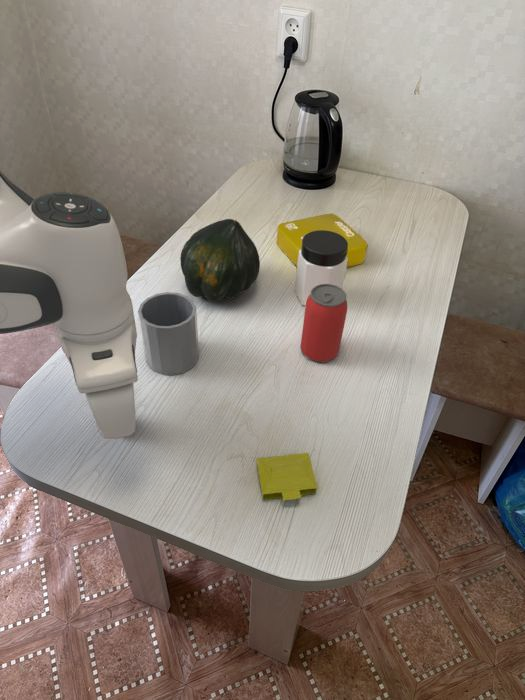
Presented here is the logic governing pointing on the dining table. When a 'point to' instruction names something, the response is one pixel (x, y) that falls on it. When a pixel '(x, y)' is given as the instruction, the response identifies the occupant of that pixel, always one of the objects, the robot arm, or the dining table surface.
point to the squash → (220, 261)
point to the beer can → (324, 322)
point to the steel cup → (169, 332)
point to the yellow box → (296, 230)
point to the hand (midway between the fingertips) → (114, 404)
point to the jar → (320, 262)
